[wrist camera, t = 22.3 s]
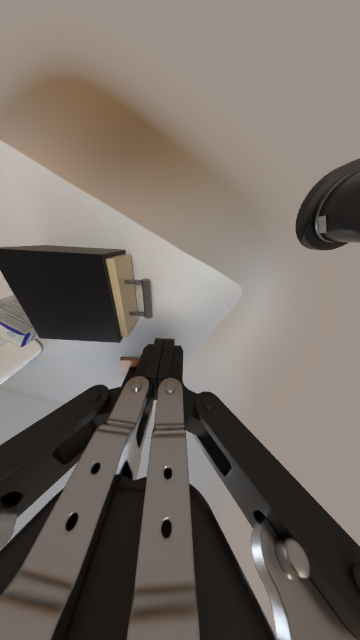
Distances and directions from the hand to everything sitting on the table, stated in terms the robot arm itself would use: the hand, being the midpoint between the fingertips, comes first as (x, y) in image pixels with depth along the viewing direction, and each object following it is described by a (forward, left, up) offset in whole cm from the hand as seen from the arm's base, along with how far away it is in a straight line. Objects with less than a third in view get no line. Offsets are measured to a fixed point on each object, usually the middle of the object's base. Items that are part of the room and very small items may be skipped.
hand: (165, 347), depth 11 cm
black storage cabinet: (+17, +2, -19) cm, 26 cm away
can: (+39, +19, -20) cm, 47 cm away
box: (+31, +8, -20) cm, 37 cm away
